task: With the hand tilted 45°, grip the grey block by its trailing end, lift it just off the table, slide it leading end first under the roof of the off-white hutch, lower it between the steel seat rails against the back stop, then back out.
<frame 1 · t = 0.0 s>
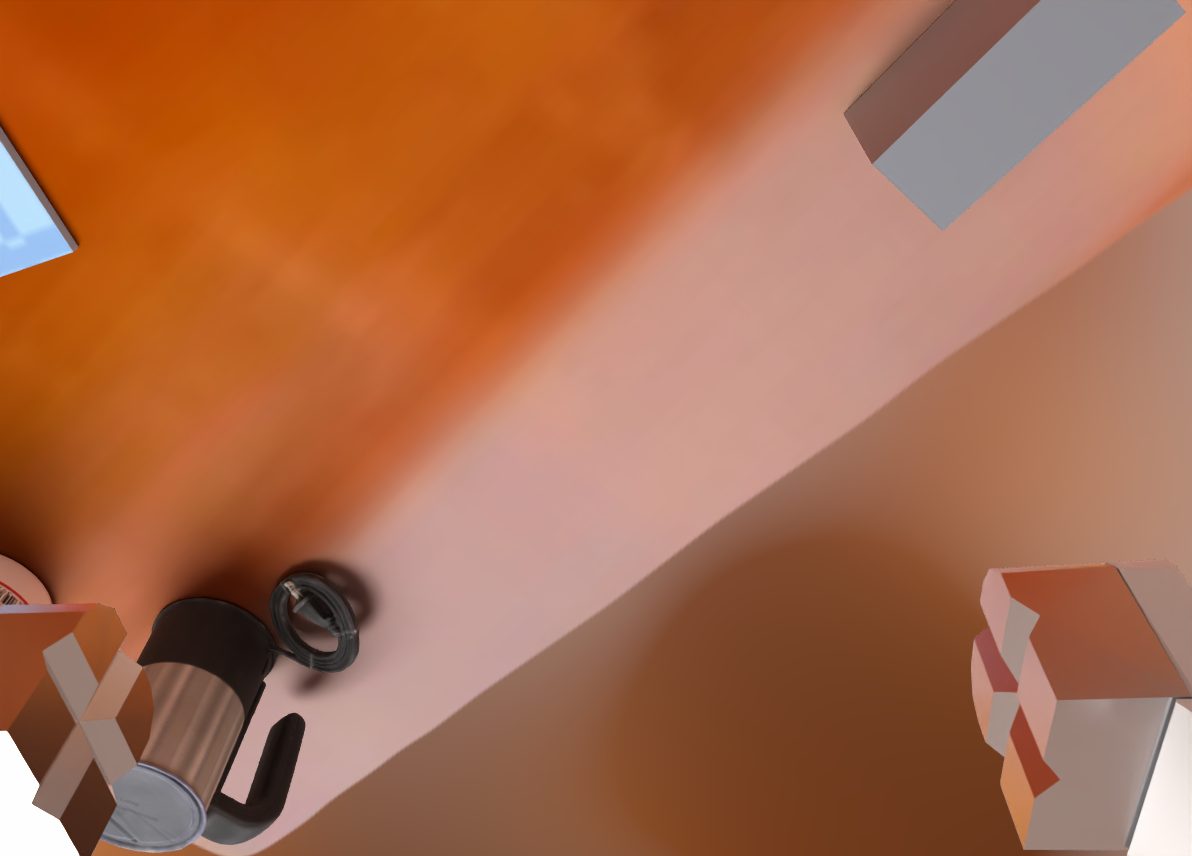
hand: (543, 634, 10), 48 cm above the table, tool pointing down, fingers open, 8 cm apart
grey block: (973, 48, 52), on the table
milk frother: (259, 622, 76), on the table
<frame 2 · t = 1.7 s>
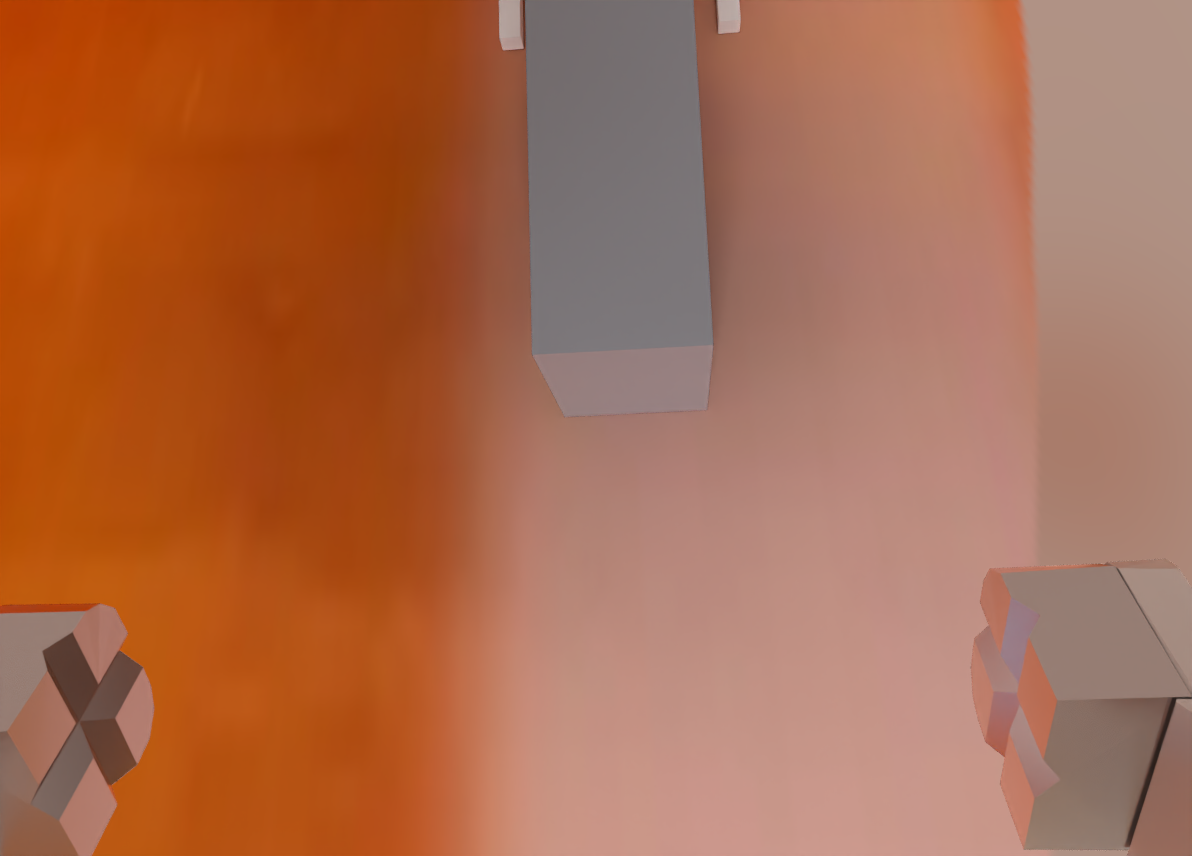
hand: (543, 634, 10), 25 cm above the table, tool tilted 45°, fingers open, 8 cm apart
grey block: (628, 239, 38), on the table
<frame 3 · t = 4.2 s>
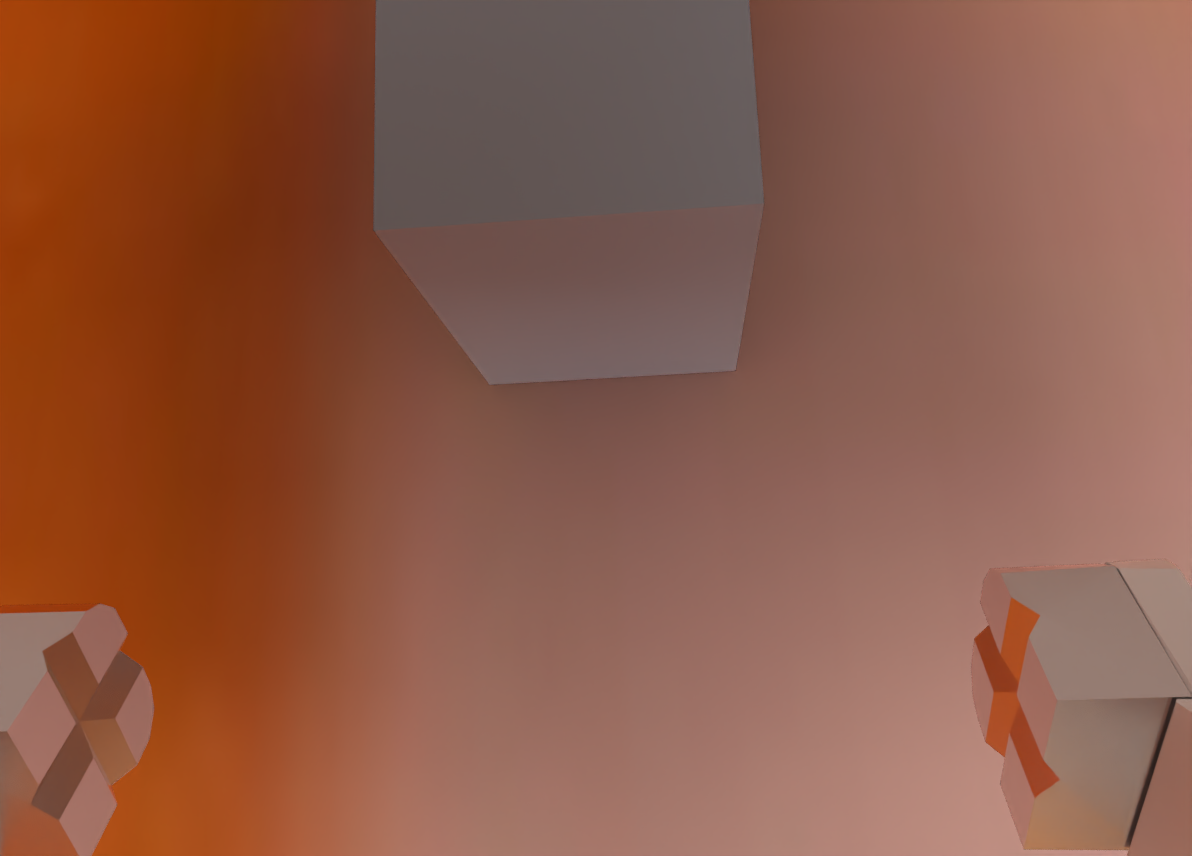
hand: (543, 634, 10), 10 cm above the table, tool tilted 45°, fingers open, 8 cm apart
grey block: (599, 86, 22), on the table
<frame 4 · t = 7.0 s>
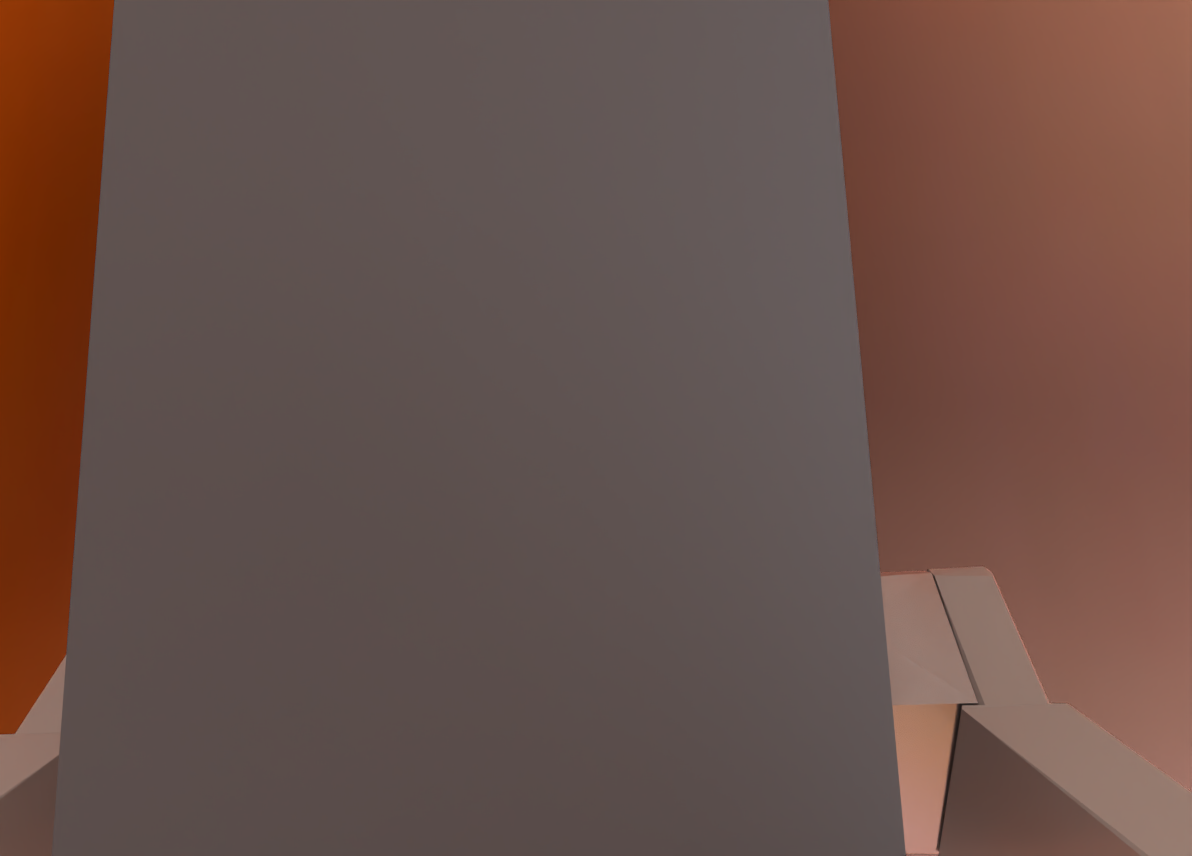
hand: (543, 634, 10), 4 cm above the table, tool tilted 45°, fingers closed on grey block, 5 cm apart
grey block: (579, 364, 15), on the table, touching gripper
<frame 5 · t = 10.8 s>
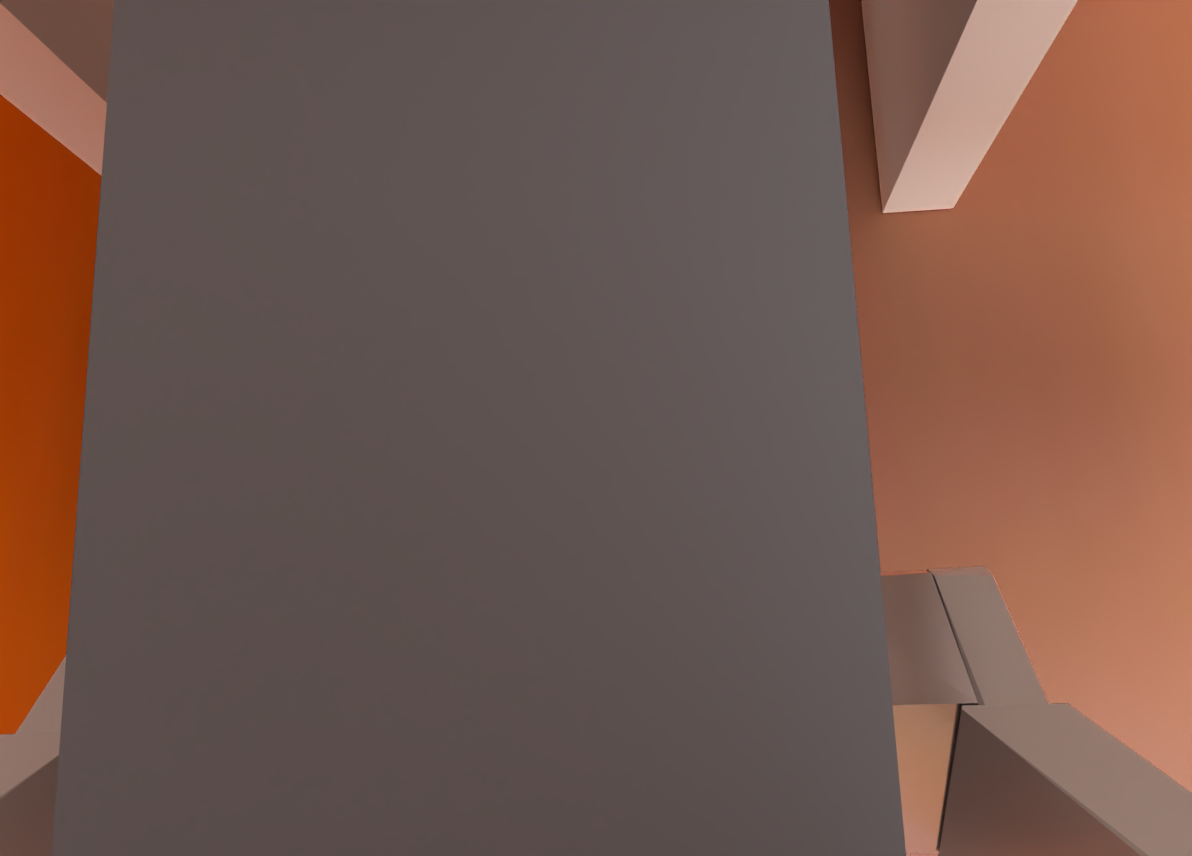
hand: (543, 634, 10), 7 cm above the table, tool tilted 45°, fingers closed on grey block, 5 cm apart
grey block: (579, 365, 15), point 3 cm above the table, touching gripper
hutch: (566, 182, 19), on the table
when the fingers open (5 cm above the table, at t = 14.7 s): grey block moves 1 cm, resting in hutch.
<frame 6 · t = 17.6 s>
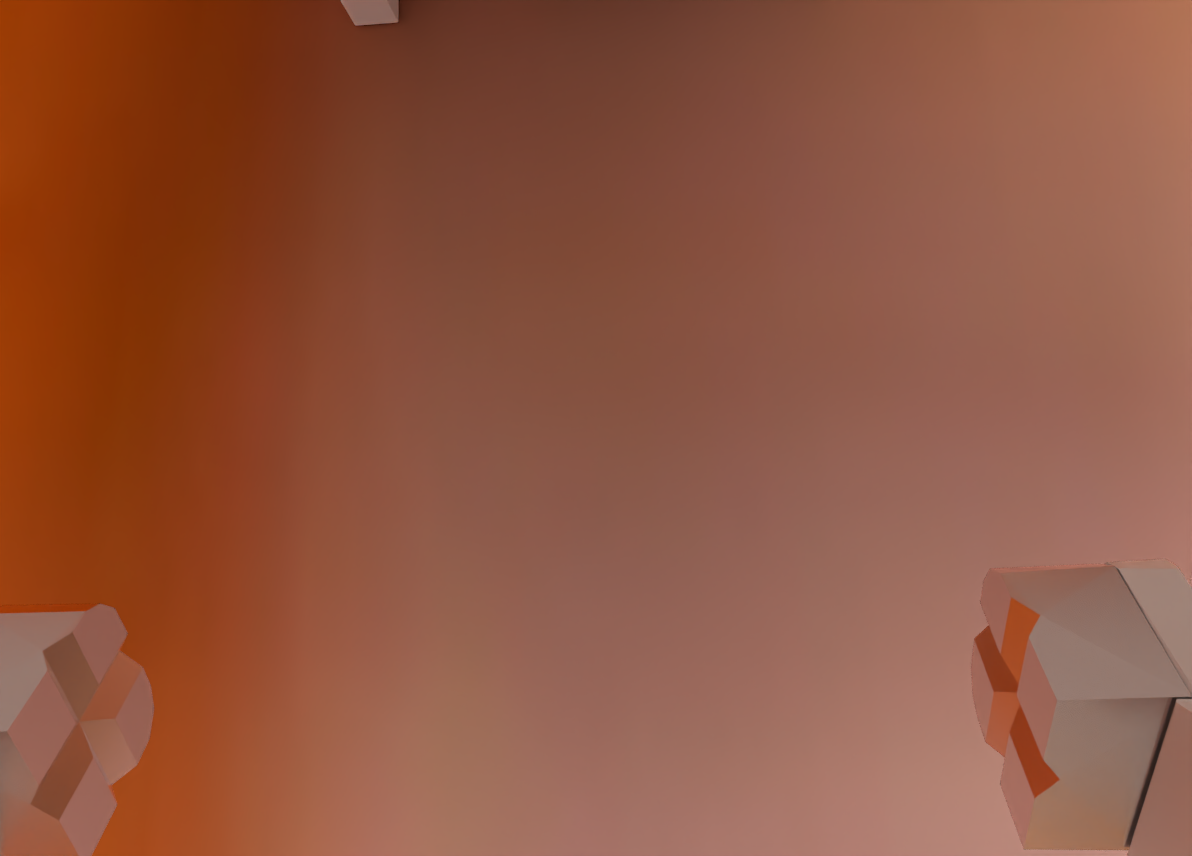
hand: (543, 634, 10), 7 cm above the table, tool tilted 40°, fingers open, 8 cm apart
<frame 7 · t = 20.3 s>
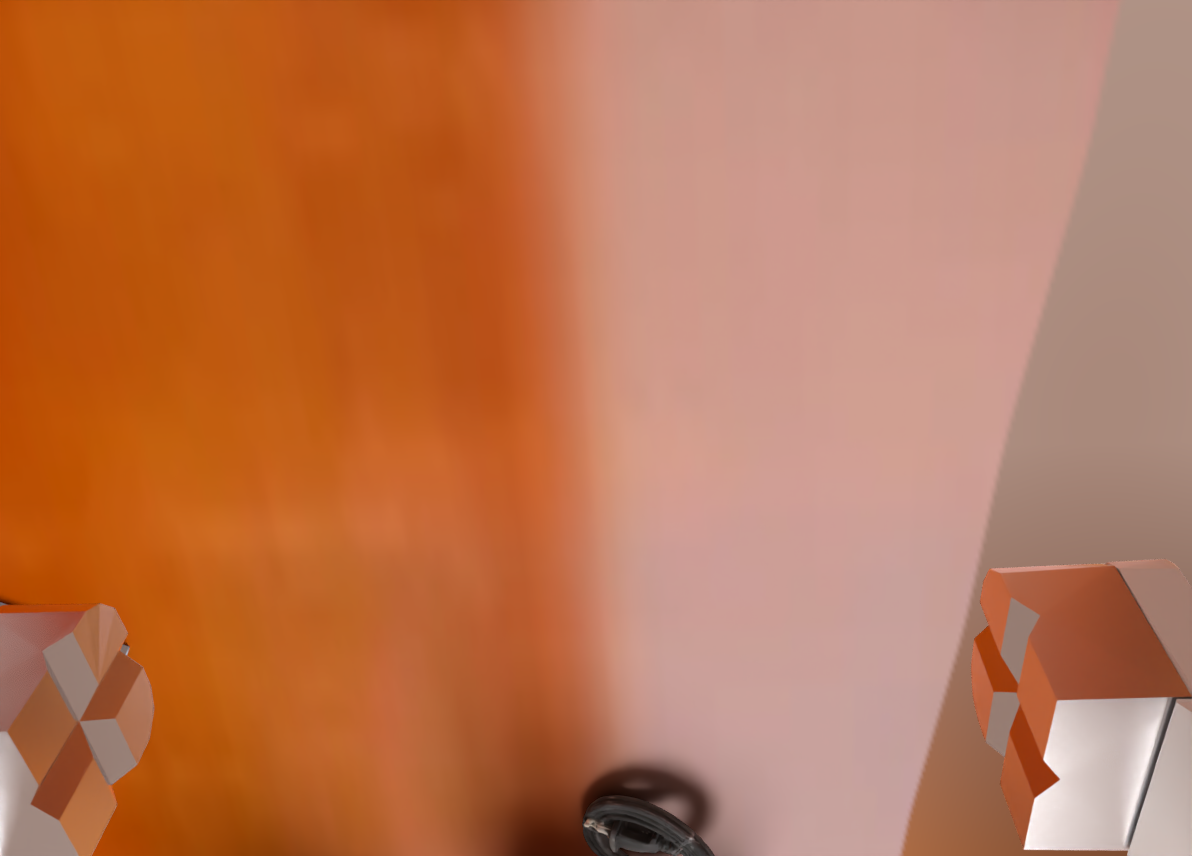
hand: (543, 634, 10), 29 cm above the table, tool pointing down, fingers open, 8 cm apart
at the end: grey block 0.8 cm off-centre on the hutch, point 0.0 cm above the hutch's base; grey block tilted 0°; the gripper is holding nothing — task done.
